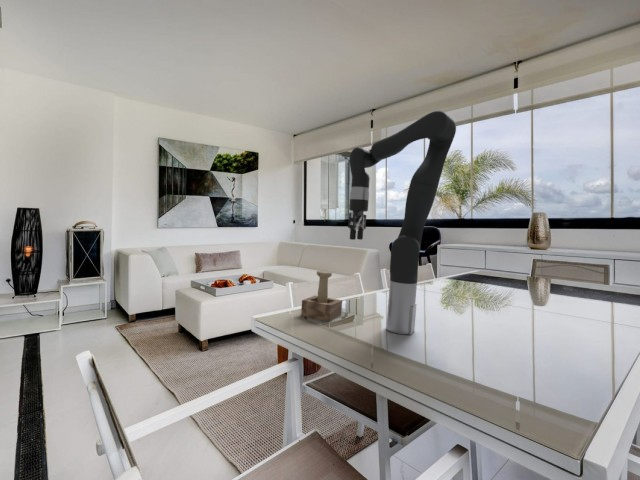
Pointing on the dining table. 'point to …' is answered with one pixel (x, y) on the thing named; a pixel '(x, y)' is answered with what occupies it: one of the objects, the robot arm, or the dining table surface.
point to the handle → (323, 286)
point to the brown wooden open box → (321, 308)
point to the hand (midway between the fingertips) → (356, 239)
